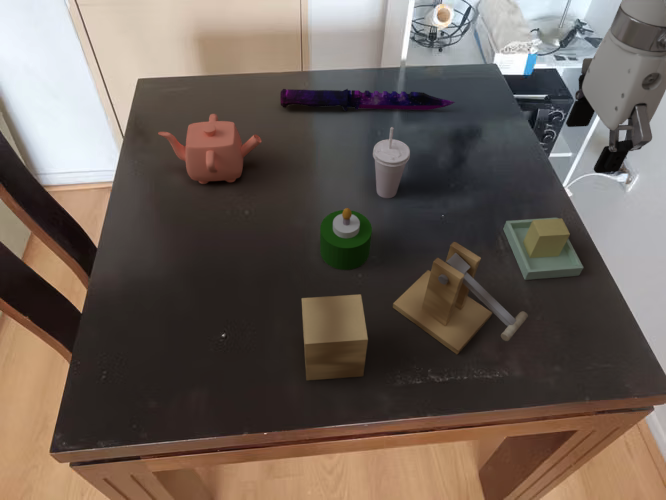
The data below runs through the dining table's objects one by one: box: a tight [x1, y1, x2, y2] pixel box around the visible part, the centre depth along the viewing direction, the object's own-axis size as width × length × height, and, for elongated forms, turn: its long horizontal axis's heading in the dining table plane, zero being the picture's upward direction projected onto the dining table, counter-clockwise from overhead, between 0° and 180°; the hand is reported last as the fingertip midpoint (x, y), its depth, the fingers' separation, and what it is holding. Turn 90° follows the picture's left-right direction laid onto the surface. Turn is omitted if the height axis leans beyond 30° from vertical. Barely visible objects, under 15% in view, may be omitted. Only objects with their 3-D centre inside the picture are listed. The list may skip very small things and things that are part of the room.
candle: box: [319, 207, 373, 271], centre depth 86 cm, size 8×8×10 cm
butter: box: [523, 218, 571, 258], centre depth 88 cm, size 5×4×6 cm
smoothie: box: [372, 126, 411, 199], centre depth 94 cm, size 6×6×14 cm
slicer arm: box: [445, 253, 529, 342], centre depth 73 cm, size 13×5×2 cm, turn 47°
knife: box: [279, 88, 456, 112], centre depth 114 cm, size 37×4×5 cm, turn 89°
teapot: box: [157, 113, 262, 185], centre depth 99 cm, size 14×12×10 cm
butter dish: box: [502, 217, 584, 281], centre depth 90 cm, size 11×9×2 cm
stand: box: [301, 293, 369, 381], centre depth 73 cm, size 8×7×10 cm
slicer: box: [392, 241, 493, 355], centre depth 77 cm, size 12×9×13 cm
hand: (590, 147), depth 74 cm, fingers open, 9 cm apart
